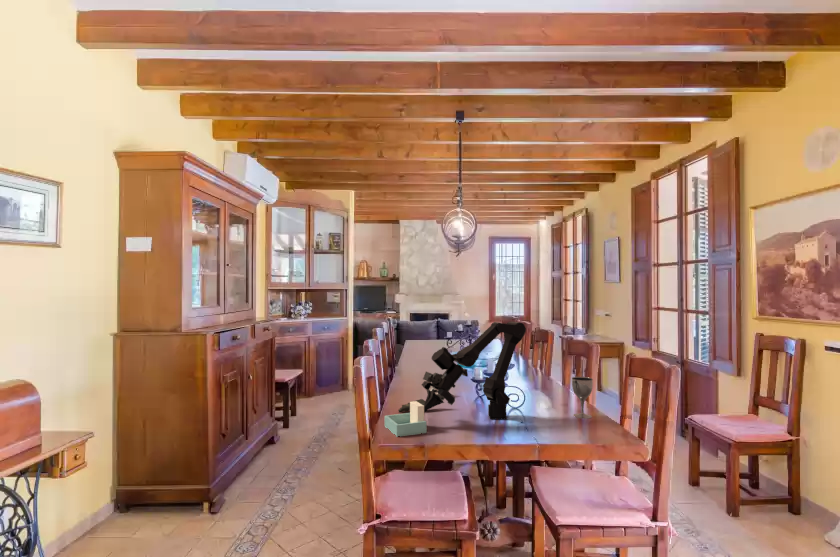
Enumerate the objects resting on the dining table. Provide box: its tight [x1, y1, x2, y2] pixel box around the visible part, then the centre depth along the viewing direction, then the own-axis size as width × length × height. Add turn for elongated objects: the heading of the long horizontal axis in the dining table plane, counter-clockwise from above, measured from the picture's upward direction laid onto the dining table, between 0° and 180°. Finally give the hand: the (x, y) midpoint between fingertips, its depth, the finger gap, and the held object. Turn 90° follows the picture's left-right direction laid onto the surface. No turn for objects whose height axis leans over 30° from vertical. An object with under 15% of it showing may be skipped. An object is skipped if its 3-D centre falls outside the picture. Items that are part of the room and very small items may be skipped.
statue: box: [397, 398, 426, 413], centre depth 200 cm, size 6×6×20 cm
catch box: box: [384, 412, 428, 438], centre depth 174 cm, size 11×13×4 cm
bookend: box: [409, 400, 425, 423], centre depth 175 cm, size 10×8×9 cm
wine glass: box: [571, 376, 594, 419], centre depth 191 cm, size 8×8×15 cm
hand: (423, 410), depth 177 cm, fingers closed
